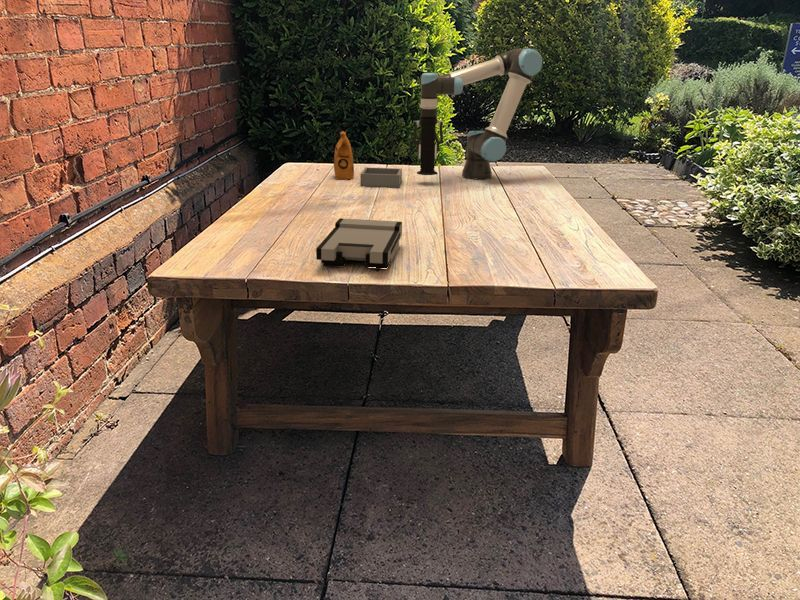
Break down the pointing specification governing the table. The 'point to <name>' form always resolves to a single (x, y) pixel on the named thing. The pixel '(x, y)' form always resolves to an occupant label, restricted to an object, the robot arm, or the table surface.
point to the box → (381, 177)
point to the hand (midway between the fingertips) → (427, 158)
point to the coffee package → (343, 159)
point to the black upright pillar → (427, 147)
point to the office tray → (360, 242)
